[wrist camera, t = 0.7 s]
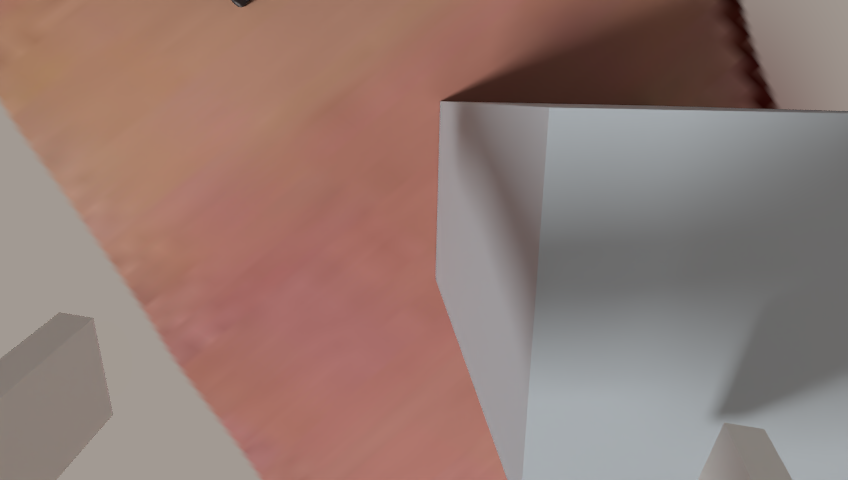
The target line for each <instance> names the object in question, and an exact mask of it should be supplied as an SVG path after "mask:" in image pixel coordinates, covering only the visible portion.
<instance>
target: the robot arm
mask: <svg viewBox="0 0 848 480" xmlns="http://www.w3.org/2000/svg"><path fill="white" fill-rule="evenodd" d="M112 415H113V412H112V407H111V402H110V397H109V393H108V388H107V383H106V378H105V373H104V368H103V363H102V358H101V354H100V349H99V344H98V339H97V334H96V329H95V324H94V319H93V318H90V317H84V316H77V315H72V314H65V313H58V314H57V315H56V316H54V317H53V318H52V319H51V320H50V321H48V322H47V323H46V324H44V325H43V326H42V327H41V328H39V329H38V330H37V331H35V332H34V333H33V334H31V335H30V336H29V337H28V338H26V339H25V340H24V341H22V342H21V343H20V344H19V345H17V346H16V347H15V348H13V349H12V350H11V351H10V352H8V353H7V354H6V355H5V356H3V357H2V358H1V359H0V480H56V479H57V478H58V477H59V476H60V475H61V474H62V472H63V471H64V470H65V469H66V468H67V467H68V466H69V464H70V463H71V462H72V461H73V460H74V459H75V457H76V456H77V455H78V454H79V453H80V452H81V450H82V449H83V448H84V447H85V446H86V445H87V444H88V442H89V441H90V440H91V439H92V438H93V437H94V436H95V435H96V433H97V432H98V431H99V430H100V429H101V428H102V427H103V425H104V424H105V423H106V422H107V421H108V420H109V418H110V417H111V416H112ZM698 480H792V478H791V476H790V474H789V473H788V471H787V469H786V467H785V465H784V464H783V462H782V460H781V458H780V456H779V455H778V453H777V451H776V449H775V447H774V445H773V444H772V442H771V440H770V438H769V436H768V435H767V433H766V431H765V429H760V428H754V427H748V426H742V425H736V424H730V423H724V424H723V426H722V428H721V431H720V433H719V435H718V437H717V439H716V442H715V444H714V446H713V448H712V450H711V452H710V455H709V457H708V459H707V461H706V463H705V465H704V468H703V470H702V472H701V474H700V476H699V479H698Z"/></svg>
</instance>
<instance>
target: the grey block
mask: <svg viewBox="0 0 848 480" xmlns="http://www.w3.org/2000/svg"><path fill="white" fill-rule="evenodd" d="M436 281H437V284H438V287H439V290H440V293H441V295H442V298H443V301H444V304H445V307H446V309H447V312H448V315H449V318H450V321H451V323H452V326H453V329H454V332H455V334H456V337H457V340H458V343H459V346H460V348H461V351H462V354H463V357H464V360H465V362H466V365H467V368H468V371H469V374H470V376H471V379H472V382H473V385H474V388H475V390H476V393H477V396H478V399H479V401H480V404H481V407H482V410H483V413H484V415H485V418H486V421H487V424H488V427H489V429H490V432H491V435H492V438H493V441H494V443H495V446H496V449H497V452H498V454H499V457H500V460H501V463H502V466H503V468H504V471H505V474H506V477H507V480H698V479H699V476H700V474H701V472H702V470H703V468H704V465H705V463H706V461H707V459H708V457H709V455H710V452H711V450H712V448H713V446H714V444H715V442H716V439H717V437H718V435H719V433H720V431H721V428H722V426H723V424H724V423H730V424H736V425H742V426H748V427H754V428H760V429H765V431H766V433H767V435H768V436H769V438H770V440H771V442H772V444H773V445H774V447H775V449H776V451H777V453H778V455H779V456H780V458H781V460H782V462H783V464H784V465H785V467H786V469H787V471H788V473H789V474H790V476H791V478H792V480H848V111H821V110H786V109H753V108H719V107H684V106H648V105H599V104H550V103H501V102H452V101H440V132H439V170H438V207H437V245H436Z"/></svg>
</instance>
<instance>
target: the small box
mask: <svg viewBox="0 0 848 480" xmlns="http://www.w3.org/2000/svg"><path fill="white" fill-rule="evenodd" d="M248 1H249V0H232V2H233V3H234V4H235V5H237V6H238V7H243V6H245V5H246V3H247V2H248Z"/></svg>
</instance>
